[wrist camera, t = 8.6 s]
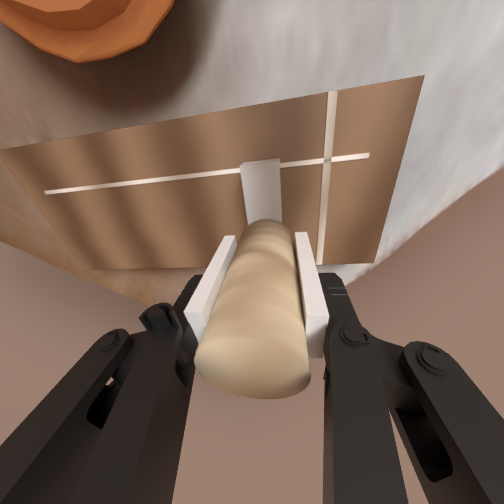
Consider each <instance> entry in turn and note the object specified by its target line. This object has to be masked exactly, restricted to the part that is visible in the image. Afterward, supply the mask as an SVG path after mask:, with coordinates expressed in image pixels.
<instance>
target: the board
mask: <svg viewBox="0 0 504 504" xmlns="http://www.w3.org/2000/svg"><path fill="white" fill-rule="evenodd" d="M424 76H425V75H423V76H417V77H411V78H406V79H400V80H394V81H389V82H383V83H377V84H372V85H366V86H360V87H355V88H349V89H343V90H337V91H331V92H326V93H321V94H315V95H309V96H304V97H298V98H292V99H286V100H281V101H275V102H269V103H264V104H258V105H252V106H247V107H241V108H235V109H230V110H224V111H218V112H213V113H207V114H201V115H196V116H190V117H184V118H179V119H173V120H167V121H162V122H156V123H150V124H144V125H139V126H133V127H127V128H122V129H116V130H110V131H105V132H99V133H93V134H88V135H82V136H76V137H71V138H65V139H59V140H54V141H48V142H42V143H37V144H31V145H25V146H20V147H14V148H8V149H3V150H0V158H1V159H2V161H3V162H4V163H5V165H6V166H7V167H8V169H9V170H10V171H11V173H12V174H13V175H14V177H15V178H16V179H17V181H18V182H19V183H20V185H21V186H22V187H23V189H24V190H25V191H26V193H27V194H28V195H29V197H30V198H31V199H32V201H33V202H34V203H35V205H36V206H37V207H38V209H39V210H40V211H41V213H42V214H43V215H44V217H45V218H46V219H47V221H48V222H49V223H50V225H51V226H52V227H53V229H54V230H55V231H56V233H57V234H58V235H59V237H60V238H61V239H62V241H63V242H64V243H65V245H66V246H67V247H68V249H69V250H70V251H71V253H72V254H73V255H74V257H75V258H76V259H77V261H78V262H79V263H80V265H81V266H82V267H83V269H84V270H99V269H142V268H185V267H208V266H209V264H210V262H211V260H212V258H213V257H214V255H215V253H216V251H217V249H218V247H219V245H220V244H221V242H222V240H223V238H224V236H230V235H235V236H236V242H237V245H238V243H239V240H240V238H241V235H242V233H243V231H244V229H245V228H246V227H247V226H248V220H247V214H246V207H245V200H244V193H243V186H242V179H241V172H240V165H242V164H243V163H245V162H253V161H261V160H269V159H277V158H280V180H281V204H282V223H283V224H284V225H285V226H287V227H288V229H289V230H290V231H291V233H292V235H293V239H294V246H295V232H307V234H308V238H309V242H310V245H311V249H312V253H313V257H314V261H315V264H316V265H322V264H357V263H374V261H375V257H376V254H377V250H378V246H379V242H380V239H381V235H382V231H383V228H384V224H385V220H386V217H387V213H388V209H389V206H390V202H391V198H392V194H393V191H394V187H395V183H396V180H397V176H398V172H399V169H400V165H401V161H402V157H403V154H404V150H405V146H406V143H407V139H408V135H409V132H410V128H411V124H412V120H413V117H414V113H415V109H416V106H417V102H418V98H419V95H420V91H421V87H422V84H423V80H424Z"/></svg>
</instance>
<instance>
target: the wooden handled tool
mask: <svg viewBox="0 0 504 504" xmlns="http://www.w3.org/2000/svg"><path fill="white" fill-rule="evenodd" d="M240 172H241V179H242V186H243V193H244V200H245V207H246V214H247V220H248V226H247V227H246V228H245V229H244V231H243V233H242V235H241V238H240V240H239V243H238V245H237V248H236V251H235V253H234V256H233V258H232V261H231V264H230V266H229V269H228V271H227V274H226V277H225V279H224V282H223V284H222V287H221V290H220V292H219V295H218V298H217V300H216V303H215V305H214V308H213V311H212V313H211V316H210V318H209V321H208V324H207V326H206V329H205V331H204V334H203V337H202V339H201V342H200V344H199V347H198V350H197V353H196V355H195V358H194V363H195V367H196V369H197V371H198V372H199V374H200V375H201V376H202V377H203V378H204V379H205V380H207V381H208V382H209V383H211V384H213V385H214V386H216V387H218V388H220V389H222V390H225V391H227V392H230V393H233V394H236V395H240V396H244V397H250V398H257V399H279V398H286V397H290V396H293V395H296V394H298V393H300V392H302V391H303V390H304V389H305V388H306V387H307V386H308V385H309V383H310V379H311V375H310V366H309V358H308V350H307V342H306V334H305V326H304V318H303V310H302V302H301V294H300V286H299V278H298V270H297V262H296V254H295V246H294V239H293V235H292V233H291V231H290V230H289V229H288V227H287V226H285V225H284V224H283V223H282V204H281V180H280V158H277V159H269V160H261V161H253V162H245V163H243V164H242V165H240Z"/></svg>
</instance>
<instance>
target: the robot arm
mask: <svg viewBox="0 0 504 504" xmlns="http://www.w3.org/2000/svg"><path fill="white" fill-rule="evenodd" d="M236 248H237V242H236V236H235V235H230V236H224V238H223V240H222V242H221V244H220V245H219V247H218V249H217V251H216V253H215V255H214V257H213V258H212V260H211V262H210V264H209V266H208V268H207V270H206V271H205V273H204V275H195V276H194V277H193V278H191V279H190V280H189V281H188V283H187V285H186V286H185V289H183V291H182V293H181V295H180V296H179V297H178V299H177V301H176V302H175V304H174V306H173V307H172V306H171V305H170V304H168V303H159V304H155V305H153V306H151V307H149V308H148V309H147V310H145V311H144V312H143V313H142V314H141V316H140V317H139V319H140V321H141V322H142V324H143V325H144V327H145V328H146V330H147V331H143V332H139V333H135V334H132V335H129V334H128V332H127V331H126V330H124V329H115V330H112V331H110V332H108V333H106V334H105V335H103V336H102V337H101V338H99V339H98V340H97V341H96V342H95V343H94V344H93V345H92V347H91V348H90V349H89V350H88V351H87V352H86V353H85V354H84V355H83V356H82V357H81V358H80V360H79V361H78V362H77V363H76V364H75V365H74V366H73V367H72V368H71V369H70V371H69V372H68V373H67V374H66V375H65V376H64V377H63V378H62V379H61V380H60V381H59V382H58V384H57V385H56V386H55V387H54V388H53V389H52V390H51V391H50V392H49V394H48V395H47V396H46V397H45V398H44V399H43V400H42V401H41V402H40V403H39V404H38V406H37V407H36V408H35V409H34V410H33V411H32V412H31V413H30V414H29V415H28V416H27V417H26V419H25V420H24V421H23V422H22V423H21V424H20V425H19V426H18V427H17V428H16V429H15V430H14V431H13V433H12V434H11V435H10V436H9V437H8V438H7V439H6V440H5V441H4V443H3V444H2V445H1V446H0V504H172V498H173V492H174V487H175V481H176V476H177V470H178V464H179V459H180V453H181V447H182V441H183V436H184V430H185V425H186V419H187V413H188V408H189V401H190V395H191V391H192V385H193V379H194V374H195V368H196V367H195V363H194V358H195V355H196V354H195V351H196V348H197V346H198V344H200V342H201V339H202V337H203V334H204V331H205V329H206V326H207V324H208V321H209V318H210V316H211V313H212V311H213V308H214V305H215V303H216V300H217V298H218V295H219V292H220V290H221V287H222V284H223V282H224V279H225V277H226V274H227V271H228V269H229V266H230V264H231V261H232V258H233V256H234V253H235V251H236ZM295 254H296V262H297V270H298V278H299V286H300V294H301V302H302V310H303V318H304V326H305V334H306V342H307V350H308V357H312V358H323V353H324V357H325V361H326V367H325V372H324V378H323V379H324V380H325V388H324V390H325V391H324V455H323V457H324V458H323V504H408V499H407V494H406V489H405V485H404V480H403V475H402V471H401V466H400V461H399V457H398V452H397V447H396V442H395V438H394V433H393V428H392V424H391V419H390V414H389V411H390V413H391V415H392V418H393V420H394V422H395V425H396V427H397V429H398V432H399V434H400V437H401V439H402V441H403V444H404V446H405V448H406V451H407V453H408V455H409V458H410V460H411V462H412V465H413V467H414V470H415V472H416V474H417V477H418V479H419V481H420V484H421V486H422V488H423V491H424V493H425V495H426V498H427V500H428V502H429V504H504V419H503V418H502V417H501V416H500V415H499V413H498V412H497V411H496V410H495V408H494V407H493V406H492V405H491V403H490V402H489V401H488V400H487V399H486V397H485V396H484V395H483V394H482V392H481V391H480V390H479V389H478V387H477V386H476V385H475V384H474V382H473V381H472V380H471V379H470V378H469V376H468V375H467V374H466V373H465V371H464V370H463V369H462V368H461V366H460V365H459V364H458V363H457V362H456V361H455V360H454V359H453V358H452V357H451V356H450V355H449V354H448V353H446V352H445V351H443V350H442V349H440V348H438V347H436V346H434V345H431V344H429V343H425V342H420V341H415V342H410V343H409V344H407V345H406V346H405V347H402V346H399V345H395V344H392V343H389V342H386V341H383V340H380V339H378V338H376V337H374V336H372V335H371V334H370V333H369V332H368V331H367V330H366V329H365V328H364V327H362V326H361V324H360V322H359V320H358V318H357V315H356V313H355V310H354V308H353V306H352V303H351V301H350V298H349V296H348V295H347V291H346V289H345V286H344V284H343V282H342V279H341V278H340V277H339V276H337V275H336V274H335V273H318V272H317V268H316V264H315V261H314V257H313V253H312V249H311V245H310V242H309V238H308V234H307V232H295ZM110 377H112V378H113V379H114V380H113V381H112V382H111V384H109V385H106V383H107V382H108V380H109V379H110ZM388 408H389V409H388Z"/></svg>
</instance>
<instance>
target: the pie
mask: <svg viewBox="0 0 504 504" xmlns="http://www.w3.org/2000/svg"><path fill="white" fill-rule="evenodd" d="M173 3H174V0H0V21H1V22H2V23H4V24H5V25H6V26H8V27H9V28H11V29H12V30H13V31H15V32H16V33H18V34H19V35H20V36H22V37H23V38H25V39H26V40H28V41H29V42H30V43H32V44H33V45H35V46H36V47H37V48H39V49H40V50H42V51H45V52H48V53H50V54H53V55H56V56H58V57H61V58H64V59H66V60H69V61H72V62H75V63H77V64H78V63H84V62H90V61H96V60H102V59H109V58H113V57H115V56H118V55H120V54H122V53H124V52H127V51H129V50H131V49H134V48H136V47H138V46H141V45H143V44H145V43H146V42H147V40H148V39H149V38H150V36H151V35H152V34H153V32H154V31H155V30H156V28H157V27H158V26H159V24H160V23H161V22H162V20H163V19H164V18H165V16H166V15H167V14H168V12H169V11H170V10H171V8H172V6H173Z"/></svg>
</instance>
